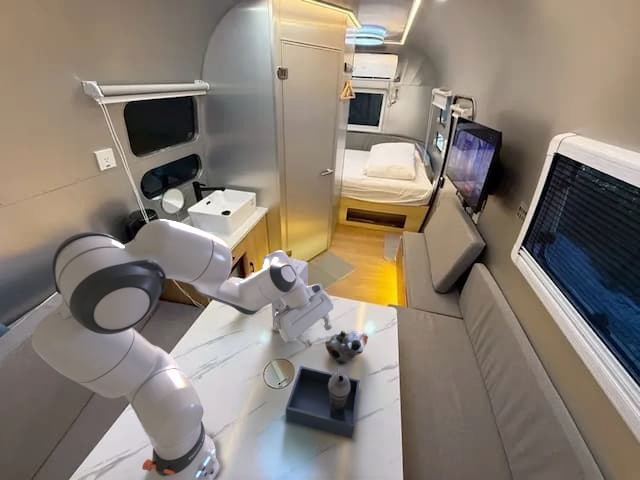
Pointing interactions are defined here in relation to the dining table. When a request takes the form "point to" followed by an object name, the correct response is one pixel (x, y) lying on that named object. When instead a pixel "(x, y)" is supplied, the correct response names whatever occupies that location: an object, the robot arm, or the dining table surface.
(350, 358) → the lucky cat figurine
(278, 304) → the cereal box
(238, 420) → the dining table surface
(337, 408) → the beverage cup
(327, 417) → the blue open storage box
